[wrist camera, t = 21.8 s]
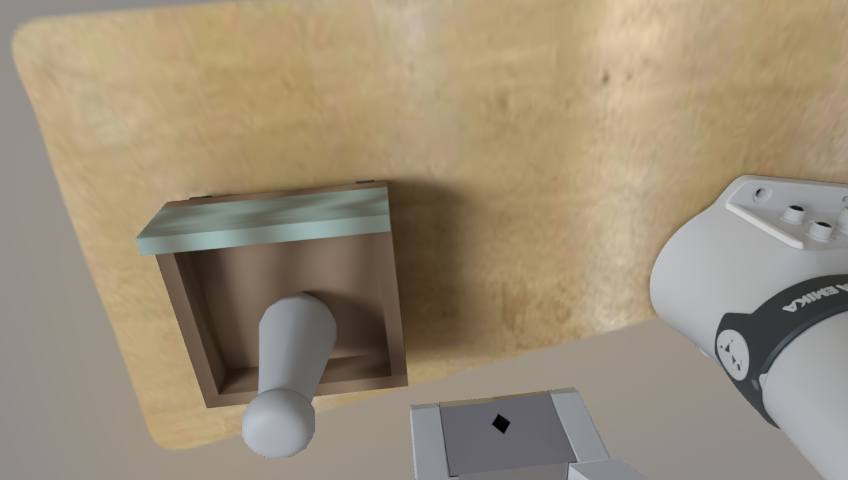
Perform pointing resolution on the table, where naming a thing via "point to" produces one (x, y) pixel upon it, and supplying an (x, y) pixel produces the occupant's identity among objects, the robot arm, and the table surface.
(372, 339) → the open wooden tray
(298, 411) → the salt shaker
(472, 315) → the table surface
